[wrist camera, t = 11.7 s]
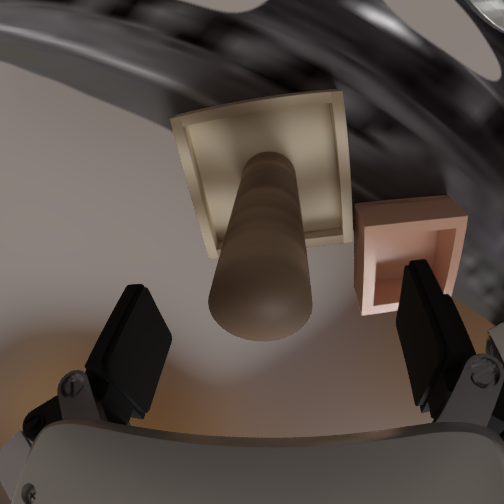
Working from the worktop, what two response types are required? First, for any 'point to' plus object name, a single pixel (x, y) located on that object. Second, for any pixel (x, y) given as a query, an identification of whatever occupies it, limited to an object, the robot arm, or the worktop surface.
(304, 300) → the dowel
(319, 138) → the tray
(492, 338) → the medicine bottle
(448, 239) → the pink square box
